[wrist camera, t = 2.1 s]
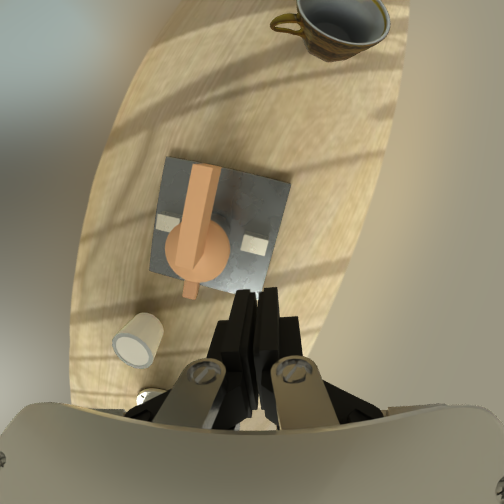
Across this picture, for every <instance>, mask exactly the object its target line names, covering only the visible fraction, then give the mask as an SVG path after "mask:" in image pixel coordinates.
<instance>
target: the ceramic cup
mask: <svg viewBox="0 0 504 504" xmlns="http://www.w3.org/2000/svg"><path fill="white" fill-rule="evenodd" d="M296 2H297V11H298V13H297V14H292V13H289V14H283V15H280V16H278V17H276V18H275V19H273V20H272V22H271V23H270V27H271V29H272V30H274V31H276V32H284V33H290V34H293V35H298V36H301V37H302V38H303V41H304V43H305V45H306V48H307V50H308V52H309V53H310V54H312V55H314V56H316V57H318V58H320V59H322V60H324V61H326V62H333V61H341V60H346V59H348V58H350V57H352V56H354V55H356V54H358V53H360V52H361V51H364V50H367V49H369V48H371V47H373V46H374V45H376V44H378V43H379V42H381V41H382V40H383V39H384V38H385V37H386V36H387V34H388V33H389V30H390V17H389V14H388V11H387V9H386V7H385V6H384V4H383V3H382V2H381V0H296ZM282 23H298V24H299V25H300V26H301V29H300V30H298V31H294V30H291V29H287V28H280V27H275V26H276V25H278V24H282Z"/></svg>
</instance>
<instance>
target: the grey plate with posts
mask: <svg viewBox="0 0 504 504" xmlns="http://www.w3.org/2000/svg"><path fill="white" fill-rule="evenodd" d="M193 164H206V163H201V162H196V161H191V160H185V159H180V158H174V157H166V160H165V165H164V170H163V175H162V181H161V186H160V192H159V198H158V204H157V211H156V218H155V225H154V232H153V240H152V249H151V258H150V268H149V271H152V272H155V273H159V274H162V275H166V276H169V277H173V278H177V279H180V280H184V281H185V279H183V278H182V277H180V276H179V275H177V274H176V273H175V272H174V271H173V269H172V268H171V267H170V265H169V263H168V261H167V258H166V254H165V243H166V239H167V237H168V235H169V233H170V232H171V230H172V229H173V228H174V227H175V226H177V225H178V224H179V223H181V222H182V217H183V211H184V206H185V200H186V195H187V190H188V185H189V180H190V175H191V170H192V166H193ZM210 165H211V164H210ZM214 166H215V165H214ZM219 167H220V166H219ZM290 187H291V184H290V183H286V182H283V181H279V180H275V179H271V178H267V177H263V176H259V175H255V174H251V173H247V172H243V171H238V170H234V169H229V168H225V167H222V168H221V173H220V177H219V181H218V186H217V190H216V195H215V200H214V204H213V209H212V214H211V219H210V220H212V221H214V222H216V223H217V224H218V225H219V226H220V227H221V228H222V229H223V230H224V231H225V233H226V235H227V237H228V239H229V243H230V255H229V259H228V261H227V264H226V266H225V268H224V270H223V271H222V272H221V274H220V275H218V276H217V277H216V278H214V279H212V280H210V281H207V282H201V283H200V285H202V286H206V287H210V288H214V289H218V290H222V291H225V292H229V293H233V294H236V290H241V289H250V291H251V292H255V293H256V299H258V297H259V292H261V291H262V287H263V284H264V280H265V277H266V274H267V270H268V267H269V263H270V259H271V256H272V252H273V249H274V245H275V242H276V238H277V235H278V231H279V227H280V224H281V220H282V216H283V213H284V209H285V205H286V202H287V198H288V194H289V191H290Z"/></svg>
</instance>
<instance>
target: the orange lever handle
mask: <svg viewBox="0 0 504 504" xmlns="http://www.w3.org/2000/svg"><path fill="white" fill-rule="evenodd" d="M221 168H222V167H219V166H214V165H210V164H193V166H192V170H191V175H190V180H189V185H188V190H187V195H186V200H185V206H184V211H183V217H182V222H181V223H179V224H178V225H177V226H175V227H174V228H173V229H172V230H171V232H170V233H169V235H168V237H167V239H166V243H165V254H166V258H167V261H168V263H169V265H170V267H171V268H172V269H173V271H174V272H175V273H176V274H177V275H179V276H180V277H182V278H183V279H185V282H184V288H183V295H182V297H185V298H189V299H193V300H195V299H196V297H197V295H198V291H199V285H200V283H201V282H207V281H210V280H212V279H214V278H216V277H217V276H218V275H220V274H221V272H222V271H223V270H224V268H225V266H226V264H227V261H228V259H229V255H230V243H229V239H228V237H227V235H226V233H225V231H224V230H223V229H222V228H221V227H220V226H219V225H218V224H217V223H216V222H214V221H212V220H210V219H211V214H212V209H213V204H214V200H215V195H216V190H217V186H218V181H219V177H220V173H221Z"/></svg>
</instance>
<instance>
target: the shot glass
mask: <svg viewBox="0 0 504 504" xmlns="http://www.w3.org/2000/svg"><path fill="white" fill-rule="evenodd" d="M163 333H164V329H163V325H162V323H161V322H160V321H159V319H158V318H156V317H155V316H154V315H152V314H149V313H139V314H137V315H136V316H135V317H134V318H133V319H132V320H131V321H129V322H128V323H127V324H126V325H125V326H124V327H123V328H122V329H121V330H120V331H119V332H118V333H117V334H116V335H115V337H114V338H113V340H112V346H113V349H114V351H115V353H116V355H117V356H118V357H119V358H120V360H122V361H123V362H124V363H126V364H127V365H129V366H131V367H134V368H139V369H144V368H148V367H149V366H150V365H151V364H152V363H153V360H154V357H155V355H156V352H157V350H158V347H159V344H160V342H161V339H162V337H163Z"/></svg>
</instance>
